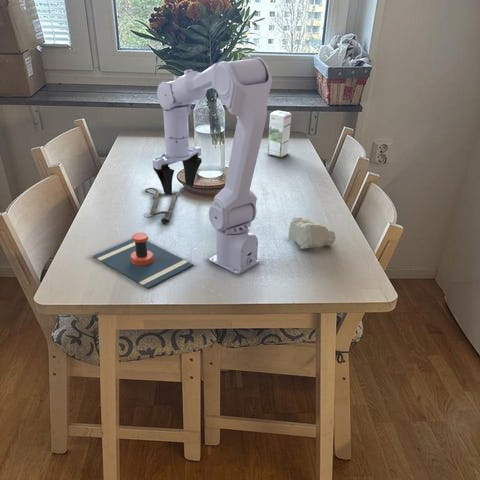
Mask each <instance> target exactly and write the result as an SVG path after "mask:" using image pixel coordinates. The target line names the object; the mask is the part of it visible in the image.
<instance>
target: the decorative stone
mask: <svg viewBox="0 0 480 480" xmlns="http://www.w3.org/2000/svg"><path fill="white" fill-rule="evenodd" d="M288 238H289V239H290V240H291V241H292V242H294V243H296V244H297V245H298V246H299V247H300V249H301V250H303V249H308V248H309V249H310V248H321V247H322V246H325V247H330V246H332V245H333V244H334V243H335V241H336V234H335V232H334V231H333V230H332V229H328V227H326V226H325V225H324V224H321V223H320V222H319V223H318V222H313V221H311V220H309V219H308V218H305V217H294V218H292V219H291V221H290V222H289V227H288Z"/></svg>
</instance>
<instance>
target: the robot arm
mask: <svg viewBox="0 0 480 480" xmlns="http://www.w3.org/2000/svg"><path fill="white" fill-rule="evenodd" d="M272 84H273V76H272V74H271V72H270V68H269V66H268V64H267V62H266V60H265V59H263V58H262V57H253V58H248V59H241V60H232V61H224V60H222V61H219V62H216V63H213V64H212V65H211V66H209V67H208V68H207V69H205V70H203V71H201V72H199V71H196V70H193V69H186V70H184V71H183V75H179V76H178V75H177V76H174V77H173V80H172V81H161V82H160V83H159V84H158V86H157V89H156V90H157V91H156V92H157V101H158V104H159V105H160V107H161V108H162V109H163V111H162V112H163V127H164V129H163V131H164V146H165V148H164V150H163V153H162V154H160V155H159V156H158V157H155V158H153V159H152V161H151V162H152V170H153V171H154V172H155V174H156V175H157V177H158V179H159V182H160V185H161V187H162V190H163V193H166V194H168V195H167V196H172V195H171V194H172V193H173V178H174V174H175V169H172V168H170V166H169V165H172V164H173V165H174V164H175V163H178V162H182V166H183V171H184V182H185V185H186V186H189V187H191V188H193V187H194V183H195V179H196V176H197V172H198V170H199V168H200V166H201V165H202V163H203V160H202V157H201V156H202V147H199V146H198V145H197V146H196V145H195V146H191V147H190V138H189V137H190V136H189V135H190V134H189V131H190V130H189V115H190V114H191V107H192V104H193V103H194V102H197V101H199V100H202V99H204V97H205V96H206V95H207V92H208V90H210V89H213V90H216V93H217V95H218V97H219V98H220V100H221V101H222V104H223V105H224V106H225V107H226V109H227V111H228V112H229V114H231V115H232V116H234V117H236V125H235V130H234V135H233V140H232V146H231V151H230V156H229V162H228V167H227V173H226V178H225V183H224V187H223V188H222V189H220V191H218V193H217V194H215V196H214V198H213V202H212V204H211V205H210V207H209V210H208V218H209V223H210V224H211V226H212V227H213V228H214V229H215V230H216V254H214V255H212V256H211V257H209V258H208V261H209V262H211V263H213V264H215V265H217V266H219V267H221V268H223V269H226V270H227V271H229V272H231V273H232V274H233V273H234V274H235V275H239V274H241V273H243V272H245V271H247V270H249V269H251V268H252V267H254V266H255V265H257V264H259V262H260V260H258V250H259V249H258V248H259V238H258V237H257V236H256V234H254V233H253V232H252V231H251V230H250V229H249V228H251V226H252V222H254V220H255V219H256V217H257V201H258V197H257V196H256V194H255V193H254V192H253V190H251V186H252V182H253V178H254V174H255V169H256V165H257V160H258V156H259V152H260V148H261V144H262V140H263V135H264V130H265V127H266V122H267V116H268V101H269V96H270V92H271V88H272Z"/></svg>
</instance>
